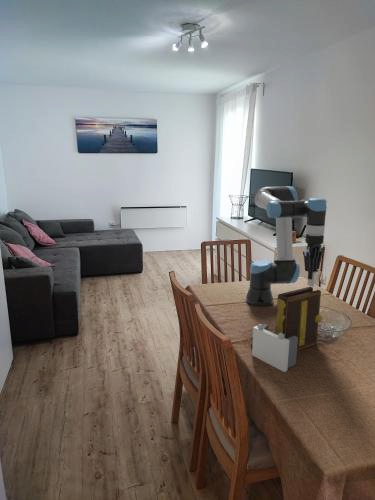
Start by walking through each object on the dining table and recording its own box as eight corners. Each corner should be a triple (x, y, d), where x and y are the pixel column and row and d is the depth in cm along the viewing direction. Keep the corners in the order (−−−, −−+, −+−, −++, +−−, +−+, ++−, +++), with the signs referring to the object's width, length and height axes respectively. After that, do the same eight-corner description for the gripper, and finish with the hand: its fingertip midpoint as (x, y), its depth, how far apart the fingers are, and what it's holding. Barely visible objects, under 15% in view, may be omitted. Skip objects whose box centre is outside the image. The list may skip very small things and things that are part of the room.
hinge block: (253, 340, 165) (254, 332, 164) (262, 342, 163) (262, 334, 162) (250, 344, 162) (251, 336, 161) (259, 346, 160) (259, 338, 159)
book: (284, 356, 152) (288, 301, 145) (271, 347, 159) (274, 293, 153) (323, 343, 162) (328, 290, 155) (308, 335, 169) (313, 284, 162)
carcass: (264, 348, 158) (265, 316, 154) (296, 364, 146) (298, 330, 143) (252, 355, 153) (253, 322, 149) (284, 372, 141) (286, 337, 137)
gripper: (315, 230, 165) (312, 280, 171) (298, 234, 158) (295, 286, 164) (331, 233, 160) (326, 284, 166) (313, 237, 152) (309, 291, 158)
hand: (311, 285), depth 165 cm, fingers closed
